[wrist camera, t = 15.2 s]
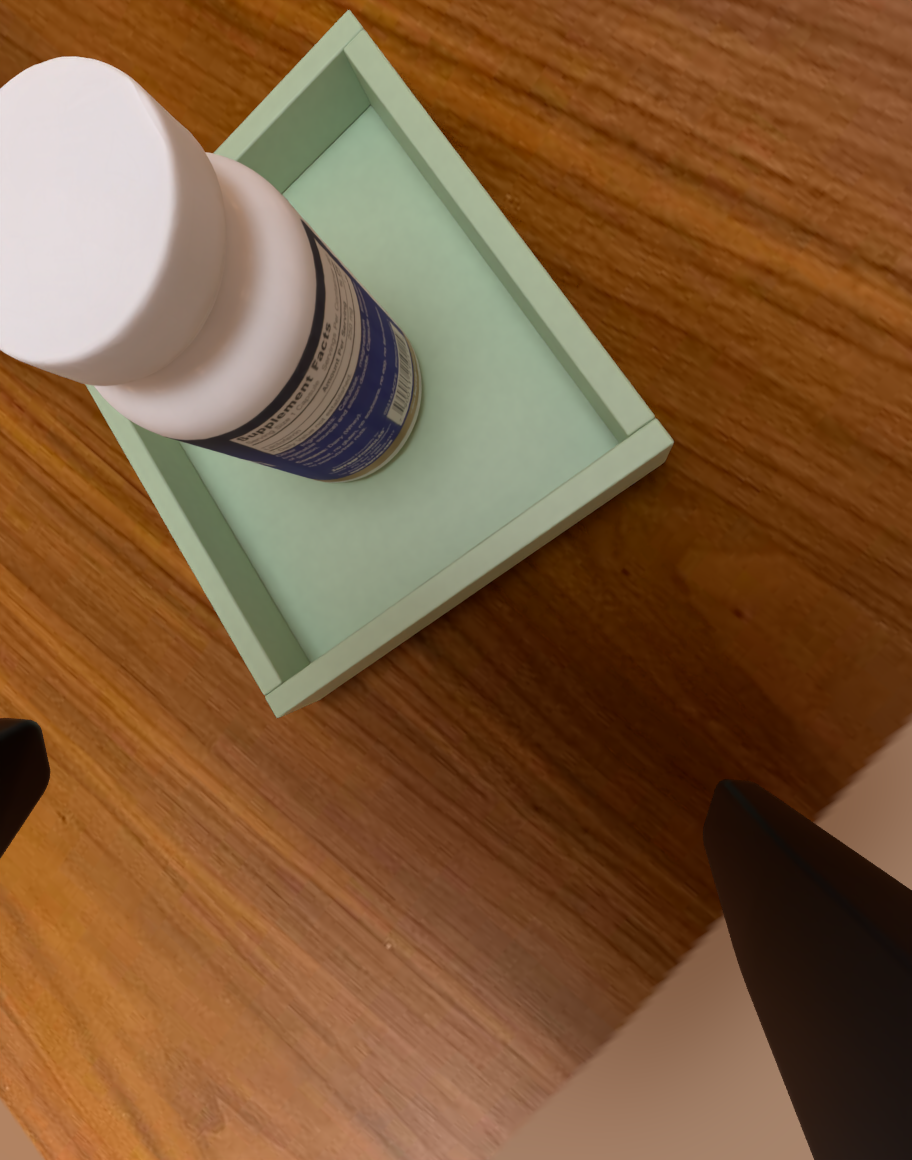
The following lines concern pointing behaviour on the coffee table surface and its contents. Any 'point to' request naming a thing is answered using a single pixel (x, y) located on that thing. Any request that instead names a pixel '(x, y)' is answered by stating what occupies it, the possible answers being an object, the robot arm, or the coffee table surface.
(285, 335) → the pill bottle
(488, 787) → the coffee table surface
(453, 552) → the tray
